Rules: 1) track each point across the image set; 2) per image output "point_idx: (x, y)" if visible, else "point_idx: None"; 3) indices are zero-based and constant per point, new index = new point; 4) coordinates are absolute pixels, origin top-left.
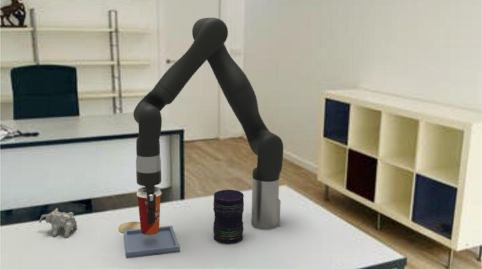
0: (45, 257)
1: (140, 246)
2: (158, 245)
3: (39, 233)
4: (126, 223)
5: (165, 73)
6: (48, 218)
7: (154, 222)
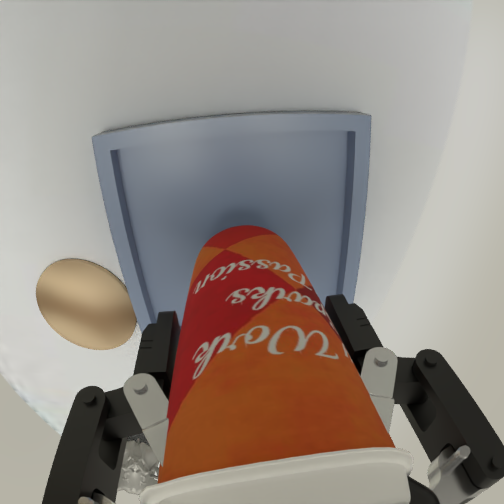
0: None
1: None
2: (288, 205)
3: None
4: (57, 326)
5: None
6: None
7: (342, 296)
